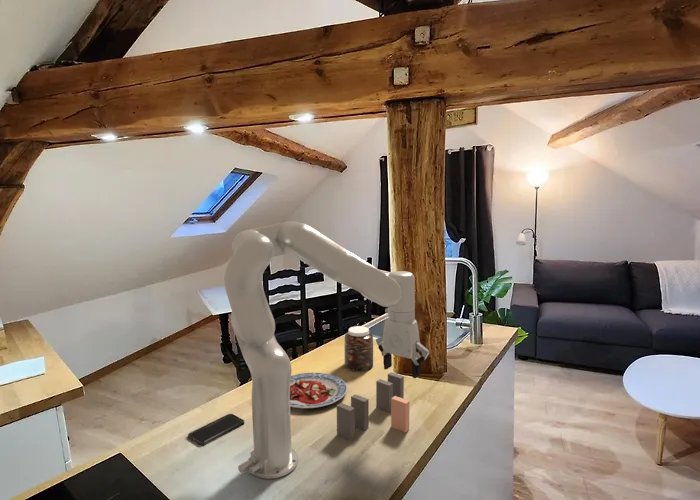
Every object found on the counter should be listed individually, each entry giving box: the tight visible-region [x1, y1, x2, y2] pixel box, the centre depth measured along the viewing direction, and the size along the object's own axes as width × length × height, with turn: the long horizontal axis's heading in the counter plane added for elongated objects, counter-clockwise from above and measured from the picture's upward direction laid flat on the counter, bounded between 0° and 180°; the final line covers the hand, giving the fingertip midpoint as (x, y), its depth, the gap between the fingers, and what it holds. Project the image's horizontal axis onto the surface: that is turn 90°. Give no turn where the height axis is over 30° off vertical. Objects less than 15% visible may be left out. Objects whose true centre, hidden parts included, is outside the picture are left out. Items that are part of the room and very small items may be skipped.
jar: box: [343, 325, 374, 373], centre depth 169 cm, size 12×12×15 cm
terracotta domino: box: [390, 396, 410, 433], centre depth 125 cm, size 2×5×9 cm, turn 51°
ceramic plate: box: [290, 372, 348, 409], centre depth 147 cm, size 26×26×3 cm
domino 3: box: [375, 378, 393, 413], centre depth 136 cm, size 2×5×9 cm, turn 51°
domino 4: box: [387, 372, 405, 399], centre depth 142 cm, size 2×5×9 cm, turn 51°
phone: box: [187, 413, 245, 447], centre depth 126 cm, size 8×1×15 cm
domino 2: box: [350, 393, 370, 431], centre depth 127 cm, size 2×5×9 cm, turn 51°
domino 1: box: [336, 402, 356, 442], centre depth 122 cm, size 2×5×9 cm, turn 51°
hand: (401, 372), depth 124 cm, fingers open, 9 cm apart
